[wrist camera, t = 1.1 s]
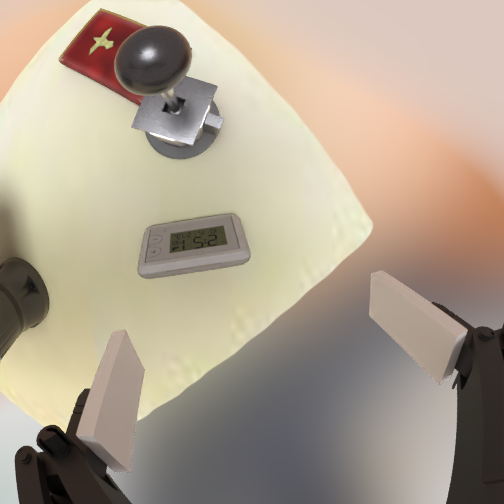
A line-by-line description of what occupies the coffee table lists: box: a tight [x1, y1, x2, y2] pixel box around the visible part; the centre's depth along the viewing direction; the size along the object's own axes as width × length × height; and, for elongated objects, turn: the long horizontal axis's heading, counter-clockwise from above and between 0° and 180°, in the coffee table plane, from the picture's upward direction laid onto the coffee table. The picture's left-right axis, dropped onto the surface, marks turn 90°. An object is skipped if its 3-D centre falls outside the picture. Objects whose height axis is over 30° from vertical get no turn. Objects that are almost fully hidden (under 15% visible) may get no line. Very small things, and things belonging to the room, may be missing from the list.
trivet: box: [145, 100, 220, 159], centre depth 39 cm, size 12×12×1 cm
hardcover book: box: [59, 8, 192, 106], centre depth 32 cm, size 12×21×4 cm, turn 54°
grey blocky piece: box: [131, 76, 224, 148], centre depth 33 cm, size 10×8×13 cm
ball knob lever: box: [114, 26, 192, 116], centre depth 20 cm, size 5×5×19 cm
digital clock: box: [138, 214, 250, 279], centre depth 40 cm, size 16×9×11 cm, turn 84°
